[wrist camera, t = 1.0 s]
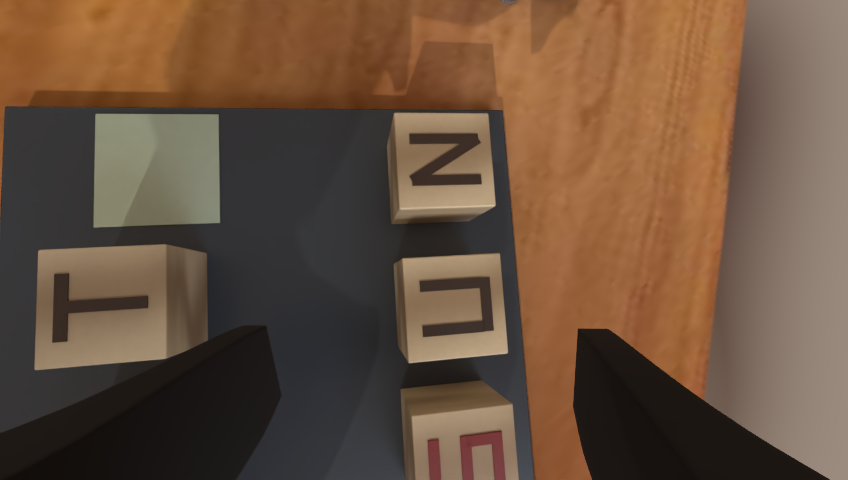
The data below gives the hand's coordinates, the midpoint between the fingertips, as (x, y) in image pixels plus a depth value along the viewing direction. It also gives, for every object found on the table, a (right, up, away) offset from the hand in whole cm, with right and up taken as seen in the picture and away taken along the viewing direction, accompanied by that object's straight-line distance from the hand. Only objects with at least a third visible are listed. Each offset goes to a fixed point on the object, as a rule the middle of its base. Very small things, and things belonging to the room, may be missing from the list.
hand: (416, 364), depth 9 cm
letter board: (-7, -1, +11) cm, 13 cm away
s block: (+1, -7, +11) cm, 13 cm away
